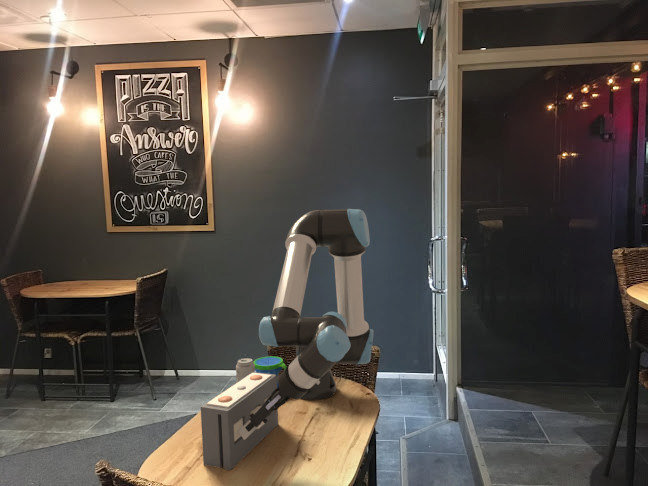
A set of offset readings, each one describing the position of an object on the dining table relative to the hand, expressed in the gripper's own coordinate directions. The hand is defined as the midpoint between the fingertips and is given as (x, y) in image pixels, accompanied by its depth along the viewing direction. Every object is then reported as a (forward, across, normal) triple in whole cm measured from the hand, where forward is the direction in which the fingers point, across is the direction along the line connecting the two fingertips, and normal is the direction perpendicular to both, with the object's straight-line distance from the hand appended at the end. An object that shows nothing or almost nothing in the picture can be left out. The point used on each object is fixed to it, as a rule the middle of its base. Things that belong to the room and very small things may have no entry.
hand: (242, 434), depth 123 cm
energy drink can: (+17, +30, +7) cm, 35 cm away
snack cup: (+17, +45, +7) cm, 49 cm away
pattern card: (-3, +8, +9) cm, 12 cm away
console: (+8, +8, -2) cm, 12 cm away
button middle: (+1, +8, -1) cm, 8 cm away
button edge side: (+3, 0, +1) cm, 3 cm away
